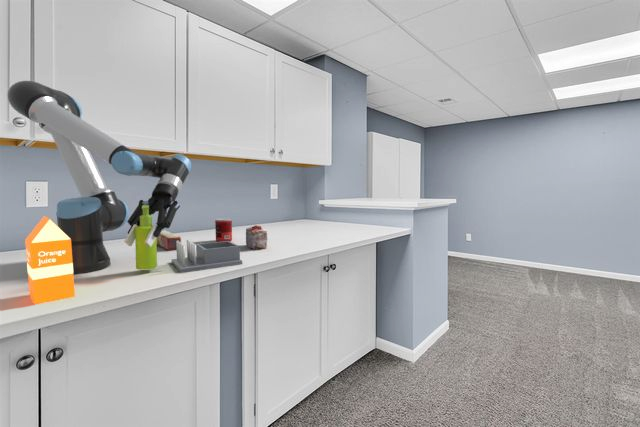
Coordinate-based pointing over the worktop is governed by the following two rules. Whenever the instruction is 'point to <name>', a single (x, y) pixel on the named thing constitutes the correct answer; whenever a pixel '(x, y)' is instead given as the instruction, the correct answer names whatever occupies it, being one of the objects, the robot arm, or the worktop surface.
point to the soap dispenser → (144, 253)
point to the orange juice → (49, 263)
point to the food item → (256, 237)
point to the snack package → (168, 240)
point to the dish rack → (206, 256)
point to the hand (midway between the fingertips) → (137, 244)
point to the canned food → (223, 229)
